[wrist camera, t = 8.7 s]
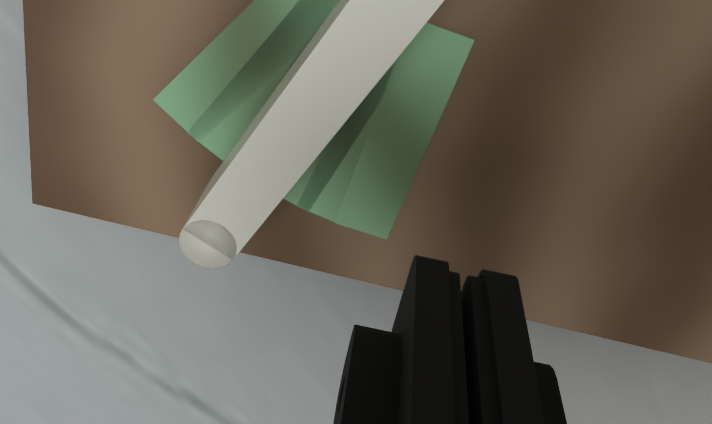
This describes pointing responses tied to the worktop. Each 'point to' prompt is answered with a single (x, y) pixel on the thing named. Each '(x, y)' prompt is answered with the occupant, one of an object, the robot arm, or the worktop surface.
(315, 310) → the worktop surface
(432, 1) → the pointer
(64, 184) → the dial board
